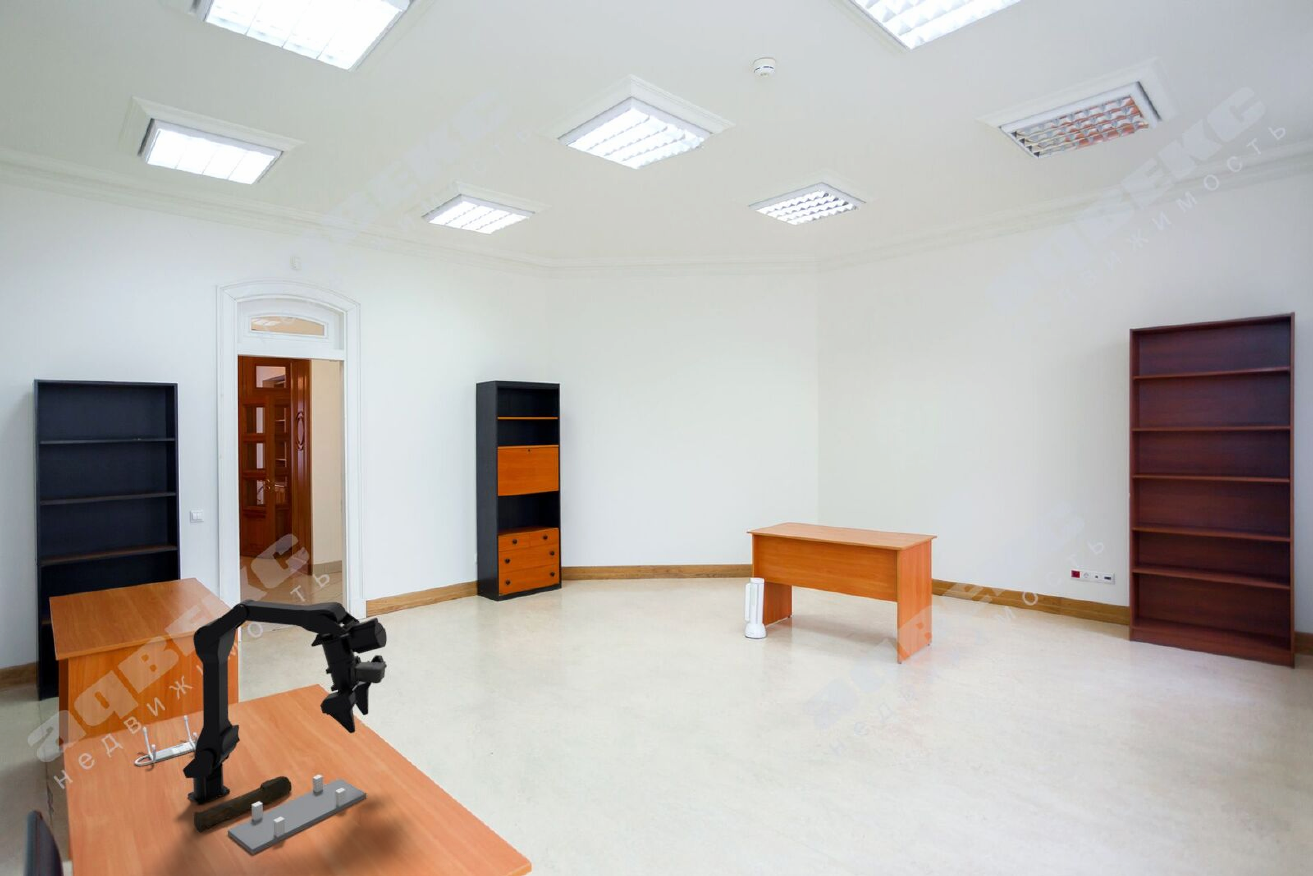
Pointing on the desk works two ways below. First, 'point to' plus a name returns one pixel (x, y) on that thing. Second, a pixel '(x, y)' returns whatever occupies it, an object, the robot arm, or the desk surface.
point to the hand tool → (243, 802)
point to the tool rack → (294, 814)
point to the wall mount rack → (169, 751)
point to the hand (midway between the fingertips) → (359, 723)
